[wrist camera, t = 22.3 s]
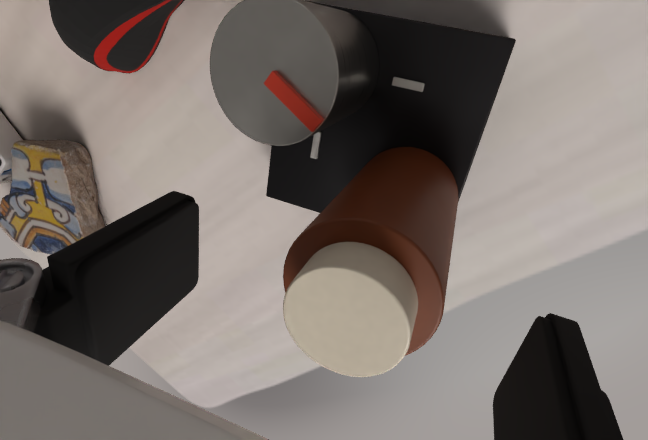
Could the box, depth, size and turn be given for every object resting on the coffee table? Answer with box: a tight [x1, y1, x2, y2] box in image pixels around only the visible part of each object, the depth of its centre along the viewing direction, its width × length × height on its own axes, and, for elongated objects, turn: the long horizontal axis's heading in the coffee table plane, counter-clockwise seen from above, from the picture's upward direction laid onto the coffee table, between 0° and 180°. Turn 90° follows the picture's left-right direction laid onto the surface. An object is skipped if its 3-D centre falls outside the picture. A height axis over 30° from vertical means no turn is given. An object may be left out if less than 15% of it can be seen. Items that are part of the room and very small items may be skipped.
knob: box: [210, 0, 379, 146], centre depth 16 cm, size 5×5×6 cm
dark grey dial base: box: [267, 1, 516, 213], centre depth 20 cm, size 12×12×3 cm
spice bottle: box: [283, 147, 458, 377], centre depth 15 cm, size 5×5×10 cm
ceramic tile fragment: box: [0, 140, 105, 254], centre depth 31 cm, size 12×3×10 cm
